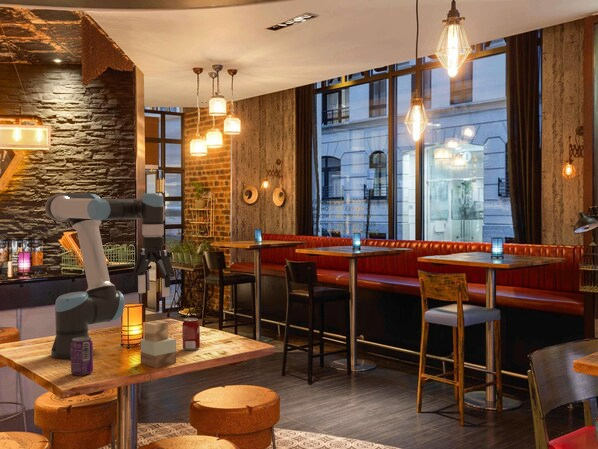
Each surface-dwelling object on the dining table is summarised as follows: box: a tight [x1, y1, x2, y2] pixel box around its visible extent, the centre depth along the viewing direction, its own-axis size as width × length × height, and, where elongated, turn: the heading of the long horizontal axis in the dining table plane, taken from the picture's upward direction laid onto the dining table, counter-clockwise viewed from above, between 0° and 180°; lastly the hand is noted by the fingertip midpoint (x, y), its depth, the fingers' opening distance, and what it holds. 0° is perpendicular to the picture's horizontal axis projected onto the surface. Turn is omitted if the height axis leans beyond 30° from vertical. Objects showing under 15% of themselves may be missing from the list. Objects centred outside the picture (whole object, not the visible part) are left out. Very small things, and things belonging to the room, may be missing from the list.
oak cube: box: [143, 320, 169, 342], centre depth 225 cm, size 6×6×6 cm
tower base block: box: [140, 351, 177, 369], centre depth 225 cm, size 9×9×4 cm
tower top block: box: [140, 336, 177, 356], centre depth 225 cm, size 9×9×4 cm
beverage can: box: [70, 336, 94, 376], centre depth 212 cm, size 7×7×12 cm
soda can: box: [181, 317, 201, 352], centre depth 247 cm, size 7×7×12 cm
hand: (153, 294), depth 225 cm, fingers open, 13 cm apart
